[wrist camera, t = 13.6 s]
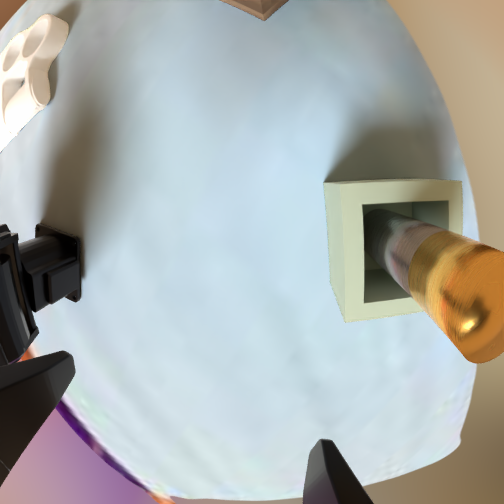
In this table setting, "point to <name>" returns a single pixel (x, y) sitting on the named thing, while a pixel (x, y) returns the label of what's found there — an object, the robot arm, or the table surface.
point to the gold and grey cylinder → (444, 278)
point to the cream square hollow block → (352, 238)
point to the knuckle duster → (28, 73)
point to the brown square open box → (257, 6)
